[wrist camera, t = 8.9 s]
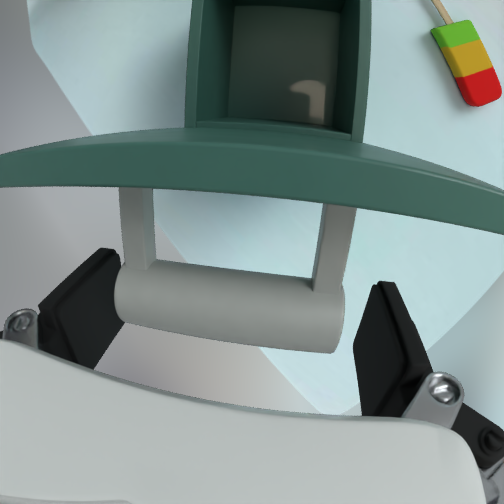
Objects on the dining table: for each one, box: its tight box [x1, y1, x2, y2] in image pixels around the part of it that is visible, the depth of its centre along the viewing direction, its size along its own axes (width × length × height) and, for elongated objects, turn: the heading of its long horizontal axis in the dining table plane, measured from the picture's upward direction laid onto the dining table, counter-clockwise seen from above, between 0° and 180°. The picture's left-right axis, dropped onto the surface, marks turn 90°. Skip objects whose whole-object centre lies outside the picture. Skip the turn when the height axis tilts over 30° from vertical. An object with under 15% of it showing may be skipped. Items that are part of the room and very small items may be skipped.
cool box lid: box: [0, 128, 504, 354], centre depth 12 cm, size 14×12×5 cm
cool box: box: [184, 0, 371, 143], centre depth 20 cm, size 14×12×11 cm
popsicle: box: [431, 0, 502, 107], centre depth 19 cm, size 6×15×2 cm, turn 31°
